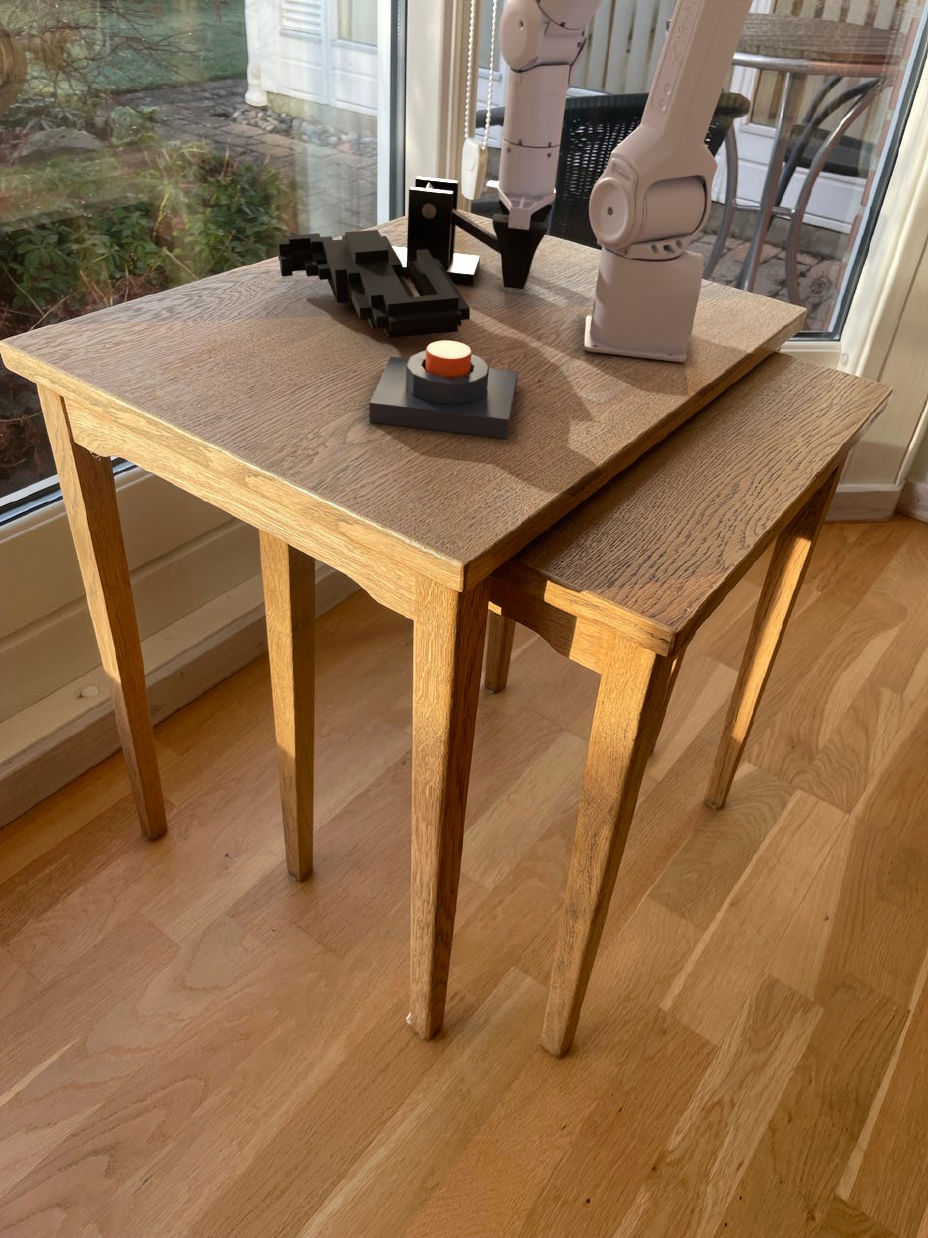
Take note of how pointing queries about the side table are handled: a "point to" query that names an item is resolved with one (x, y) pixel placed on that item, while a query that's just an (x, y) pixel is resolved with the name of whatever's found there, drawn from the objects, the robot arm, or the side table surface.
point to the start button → (448, 359)
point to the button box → (445, 398)
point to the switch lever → (472, 228)
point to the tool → (379, 282)
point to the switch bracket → (436, 229)
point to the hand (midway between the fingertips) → (516, 277)
